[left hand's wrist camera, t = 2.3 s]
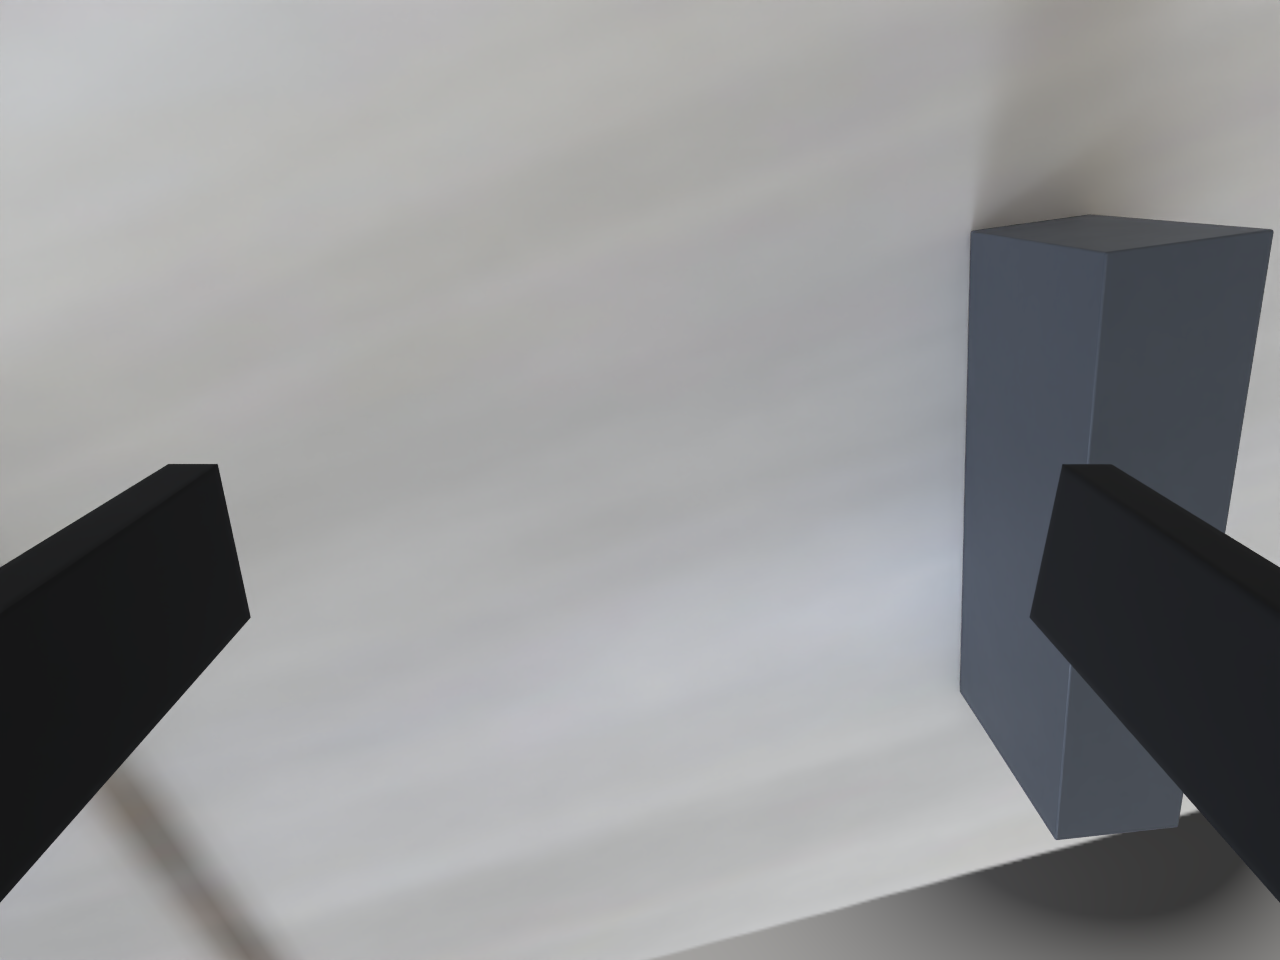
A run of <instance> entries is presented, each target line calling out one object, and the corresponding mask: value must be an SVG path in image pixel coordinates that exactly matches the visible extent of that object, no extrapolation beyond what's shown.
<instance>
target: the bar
mask: <svg viewBox="0 0 1280 960" xmlns="http://www.w3.org/2000/svg"><path fill="white" fill-rule="evenodd" d="M1272 238H1273V230H1271V229H1261V228H1248V227H1236V226H1224V225H1212V224H1199V223H1187V222H1175V221H1162V220H1150V219H1138V218H1126V217H1113V216H1101V215H1083V216H1076V217H1069V218H1062V219H1054V220H1047V221H1040V222H1033V223H1025V224H1018V225H1011V226H1004V227H996V228H989V229H982V230H975V231H972V232H971V257H970V299H969V341H968V384H967V426H966V468H965V511H964V553H963V595H962V638H961V680H960V692H961V694H962V695H963V697H964V698H965V700H966V702H967V703H968V705H969V706H970V708H971V709H972V711H973V712H974V714H975V716H976V717H977V719H978V720H979V722H980V723H981V725H982V726H983V728H984V730H985V731H986V733H987V734H988V736H989V737H990V739H991V740H992V742H993V744H994V745H995V747H996V748H997V750H998V751H999V753H1000V754H1001V756H1002V758H1003V759H1004V761H1005V762H1006V764H1007V765H1008V767H1009V768H1010V770H1011V771H1012V773H1013V775H1014V776H1015V778H1016V779H1017V781H1018V782H1019V784H1020V785H1021V787H1022V789H1023V790H1024V792H1025V793H1026V795H1027V796H1028V798H1029V799H1030V801H1031V803H1032V804H1033V806H1034V807H1035V809H1036V810H1037V812H1038V813H1039V815H1040V817H1041V818H1042V820H1043V821H1044V823H1045V824H1046V826H1047V827H1048V829H1049V831H1050V832H1051V834H1052V835H1053V837H1054V838H1055V839H1056V840H1061V839H1071V838H1080V837H1089V836H1098V835H1107V834H1116V833H1125V832H1135V831H1144V830H1153V829H1162V828H1171V827H1177V826H1178V822H1179V816H1180V810H1181V804H1182V798H1183V792H1182V791H1181V789H1180V788H1179V787H1178V786H1177V785H1176V784H1175V783H1174V781H1173V780H1172V779H1171V778H1170V777H1169V776H1168V775H1167V774H1166V772H1165V771H1164V770H1163V769H1162V768H1161V767H1160V766H1159V764H1158V763H1157V762H1156V761H1155V760H1154V759H1153V758H1152V756H1151V755H1150V754H1149V753H1148V752H1147V751H1146V750H1145V748H1144V747H1143V746H1142V745H1141V744H1140V743H1139V742H1138V741H1137V739H1136V738H1135V737H1134V736H1133V735H1132V734H1131V733H1130V731H1129V730H1128V729H1127V728H1126V727H1125V726H1124V725H1123V723H1122V722H1121V721H1120V720H1119V719H1118V718H1117V717H1116V715H1115V714H1114V713H1113V712H1112V711H1111V710H1110V709H1109V708H1108V706H1107V705H1106V704H1105V703H1104V702H1103V701H1102V700H1101V698H1100V697H1099V696H1098V695H1097V694H1096V693H1095V692H1094V690H1093V689H1092V688H1091V687H1090V686H1089V685H1088V684H1087V682H1086V681H1085V680H1084V679H1083V678H1082V677H1081V676H1080V675H1079V673H1078V672H1077V671H1076V670H1075V669H1074V668H1073V667H1072V665H1071V664H1070V663H1069V662H1068V661H1067V660H1066V659H1065V657H1064V656H1063V655H1062V654H1061V653H1060V652H1059V651H1058V649H1057V648H1056V647H1055V646H1054V645H1053V644H1052V643H1051V642H1050V640H1049V639H1048V638H1047V637H1046V636H1045V635H1044V634H1043V632H1042V631H1041V630H1040V629H1039V628H1038V627H1037V626H1036V624H1035V623H1034V622H1033V621H1032V620H1031V619H1030V618H1029V617H1030V612H1031V608H1032V603H1033V598H1034V594H1035V589H1036V584H1037V580H1038V575H1039V570H1040V566H1041V561H1042V556H1043V552H1044V547H1045V543H1046V538H1047V533H1048V529H1049V524H1050V519H1051V515H1052V510H1053V505H1054V501H1055V496H1056V491H1057V487H1058V482H1059V477H1060V473H1061V468H1062V464H1112V465H1114V466H1115V467H1117V468H1119V469H1120V470H1122V471H1124V472H1125V473H1127V474H1128V475H1130V476H1132V477H1133V478H1135V479H1137V480H1138V481H1140V482H1141V483H1143V484H1145V485H1146V486H1148V487H1150V488H1151V489H1153V490H1155V491H1156V492H1158V493H1159V494H1161V495H1163V496H1164V497H1166V498H1168V499H1169V500H1171V501H1172V502H1174V503H1176V504H1177V505H1179V506H1181V507H1182V508H1184V509H1185V510H1187V511H1189V512H1190V513H1192V514H1194V515H1195V516H1197V517H1198V518H1200V519H1202V520H1203V521H1205V522H1207V523H1208V524H1210V525H1211V526H1213V527H1215V528H1216V529H1218V530H1220V531H1221V532H1223V533H1224V534H1225V530H1226V524H1227V518H1228V511H1229V505H1230V499H1231V493H1232V487H1233V480H1234V474H1235V468H1236V462H1237V456H1238V449H1239V443H1240V437H1241V431H1242V424H1243V418H1244V412H1245V406H1246V400H1247V393H1248V387H1249V381H1250V375H1251V368H1252V362H1253V356H1254V350H1255V344H1256V337H1257V331H1258V325H1259V319H1260V312H1261V306H1262V300H1263V294H1264V288H1265V281H1266V275H1267V269H1268V263H1269V257H1270V250H1271V244H1272Z"/></svg>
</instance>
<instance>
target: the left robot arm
mask: <svg viewBox="0 0 1280 960" xmlns="http://www.w3.org/2000/svg"><path fill="white" fill-rule="evenodd" d="M250 618H251V617H250V612H249V608H248V603H247V598H246V594H245V589H244V584H243V580H242V575H241V570H240V566H239V561H238V556H237V552H236V547H235V543H234V538H233V533H232V529H231V524H230V519H229V515H228V510H227V505H226V501H225V496H224V491H223V487H222V482H221V477H220V473H219V468H218V464H168V465H166V466H165V467H163V468H161V469H160V470H158V471H156V472H155V473H153V474H152V475H150V476H148V477H147V478H145V479H143V480H142V481H140V482H139V483H137V484H135V485H134V486H132V487H130V488H129V489H127V490H125V491H124V492H122V493H121V494H119V495H117V496H116V497H114V498H112V499H111V500H109V501H108V502H106V503H104V504H103V505H101V506H99V507H98V508H96V509H95V510H93V511H91V512H90V513H88V514H86V515H85V516H83V517H82V518H80V519H78V520H77V521H75V522H73V523H72V524H70V525H69V526H67V527H65V528H64V529H62V530H60V531H59V532H57V533H56V534H54V535H52V536H51V537H49V538H47V539H46V540H44V541H42V542H41V543H39V544H38V545H36V546H34V547H33V548H31V549H29V550H28V551H26V552H25V553H23V554H21V555H20V556H18V557H16V558H15V559H13V560H12V561H10V562H8V563H7V564H5V565H3V566H2V567H0V902H1V901H2V900H3V899H4V898H5V896H6V895H7V894H8V893H9V892H10V891H11V890H12V888H13V887H14V886H15V885H16V884H17V883H18V882H19V881H20V879H21V878H22V877H23V876H24V875H25V874H26V873H27V871H28V870H29V869H30V868H31V867H32V866H33V865H34V863H35V862H36V861H37V860H38V859H39V858H40V857H41V855H42V854H43V853H44V852H45V851H46V850H47V849H48V848H49V846H50V845H51V844H52V843H53V842H54V841H55V840H56V838H57V837H58V836H59V835H60V834H61V833H62V832H63V830H64V829H65V828H66V827H67V826H68V825H69V824H70V822H71V821H72V820H73V819H74V818H75V817H76V816H77V815H78V813H79V812H80V811H81V810H82V809H83V808H84V807H85V805H86V804H87V803H88V802H89V801H90V800H91V799H92V797H93V796H94V795H95V794H96V793H97V792H98V791H99V789H100V788H101V787H102V786H103V785H104V784H105V783H106V781H107V780H108V779H109V778H110V777H111V776H112V775H113V774H114V772H115V771H116V770H117V769H118V768H119V767H120V766H121V764H122V763H123V762H124V761H125V760H126V759H127V758H128V756H129V755H130V754H131V753H132V752H133V751H134V750H135V748H136V747H137V746H138V745H139V744H140V743H141V742H142V741H143V739H144V738H145V737H146V736H147V735H148V734H149V733H150V731H151V730H152V729H153V728H154V727H155V726H156V725H157V723H158V722H159V721H160V720H161V719H162V718H163V717H164V715H165V714H166V713H167V712H168V711H169V710H170V709H171V708H172V706H173V705H174V704H175V703H176V702H177V701H178V700H179V698H180V697H181V696H182V695H183V694H184V693H185V692H186V690H187V689H188V688H189V687H190V686H191V685H192V684H193V682H194V681H195V680H196V679H197V678H198V677H199V676H200V675H201V673H202V672H203V671H204V670H205V669H206V668H207V667H208V665H209V664H210V663H211V662H212V661H213V660H214V659H215V657H216V656H217V655H218V654H219V653H220V652H221V651H222V649H223V648H224V647H225V646H226V645H227V644H228V643H229V642H230V640H231V639H232V638H233V637H234V636H235V635H236V634H237V632H238V631H239V630H240V629H241V628H242V627H243V626H244V624H245V623H246V622H247V621H248V620H249V619H250ZM1029 618H1030V619H1031V620H1032V621H1033V622H1034V623H1035V624H1036V626H1037V627H1038V628H1039V629H1040V630H1041V631H1042V632H1043V634H1044V635H1045V636H1046V637H1047V638H1048V639H1049V640H1050V642H1051V643H1052V644H1053V645H1054V646H1055V647H1056V648H1057V649H1058V651H1059V652H1060V653H1061V654H1062V655H1063V656H1064V657H1065V659H1066V660H1067V661H1068V662H1069V663H1070V664H1071V665H1072V667H1073V668H1074V669H1075V670H1076V671H1077V672H1078V673H1079V675H1080V676H1081V677H1082V678H1083V679H1084V680H1085V681H1086V682H1087V684H1088V685H1089V686H1090V687H1091V688H1092V689H1093V690H1094V692H1095V693H1096V694H1097V695H1098V696H1099V697H1100V698H1101V700H1102V701H1103V702H1104V703H1105V704H1106V705H1107V706H1108V708H1109V709H1110V710H1111V711H1112V712H1113V713H1114V714H1115V715H1116V717H1117V718H1118V719H1119V720H1120V721H1121V722H1122V723H1123V725H1124V726H1125V727H1126V728H1127V729H1128V730H1129V731H1130V733H1131V734H1132V735H1133V736H1134V737H1135V738H1136V739H1137V741H1138V742H1139V743H1140V744H1141V745H1142V746H1143V747H1144V748H1145V750H1146V751H1147V752H1148V753H1149V754H1150V755H1151V756H1152V758H1153V759H1154V760H1155V761H1156V762H1157V763H1158V764H1159V766H1160V767H1161V768H1162V769H1163V770H1164V771H1165V772H1166V774H1167V775H1168V776H1169V777H1170V778H1171V779H1172V780H1173V781H1174V783H1175V784H1176V785H1177V786H1178V787H1179V788H1180V789H1181V791H1182V792H1183V793H1184V794H1185V795H1186V796H1187V797H1188V799H1189V800H1190V801H1191V802H1192V803H1193V804H1194V805H1195V807H1196V808H1197V809H1198V810H1199V811H1200V812H1201V813H1202V814H1203V816H1204V817H1205V818H1206V819H1207V820H1208V821H1209V822H1210V824H1211V825H1212V826H1213V827H1214V828H1215V829H1216V830H1217V832H1218V833H1219V834H1220V835H1221V836H1222V837H1223V838H1224V839H1225V841H1226V842H1227V843H1228V844H1229V845H1230V846H1231V848H1232V849H1233V850H1234V851H1235V852H1236V853H1237V854H1238V855H1239V857H1240V858H1241V859H1242V860H1243V861H1244V862H1245V863H1246V865H1247V866H1248V867H1249V868H1250V869H1251V870H1252V871H1253V873H1254V874H1255V875H1256V876H1257V877H1258V878H1259V879H1260V880H1261V882H1262V883H1263V884H1264V885H1265V886H1266V887H1267V888H1268V890H1269V891H1270V892H1271V893H1272V894H1273V895H1274V896H1275V898H1276V899H1277V900H1278V901H1279V902H1280V567H1278V566H1277V565H1275V564H1273V563H1272V562H1270V561H1268V560H1267V559H1265V558H1264V557H1262V556H1260V555H1259V554H1257V553H1255V552H1254V551H1252V550H1251V549H1249V548H1247V547H1246V546H1244V545H1242V544H1241V543H1239V542H1238V541H1236V540H1234V539H1233V538H1231V537H1229V536H1228V535H1226V534H1224V533H1223V532H1221V531H1220V530H1218V529H1216V528H1215V527H1213V526H1211V525H1210V524H1208V523H1207V522H1205V521H1203V520H1202V519H1200V518H1198V517H1197V516H1195V515H1194V514H1192V513H1190V512H1189V511H1187V510H1185V509H1184V508H1182V507H1181V506H1179V505H1177V504H1176V503H1174V502H1172V501H1171V500H1169V499H1168V498H1166V497H1164V496H1163V495H1161V494H1159V493H1158V492H1156V491H1155V490H1153V489H1151V488H1150V487H1148V486H1146V485H1145V484H1143V483H1141V482H1140V481H1138V480H1137V479H1135V478H1133V477H1132V476H1130V475H1128V474H1127V473H1125V472H1124V471H1122V470H1120V469H1119V468H1117V467H1115V466H1114V465H1112V464H1062V468H1061V473H1060V477H1059V482H1058V487H1057V491H1056V496H1055V501H1054V505H1053V510H1052V515H1051V519H1050V524H1049V529H1048V533H1047V538H1046V543H1045V547H1044V552H1043V556H1042V561H1041V566H1040V570H1039V575H1038V580H1037V584H1036V589H1035V594H1034V598H1033V603H1032V608H1031V612H1030V617H1029Z"/></svg>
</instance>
